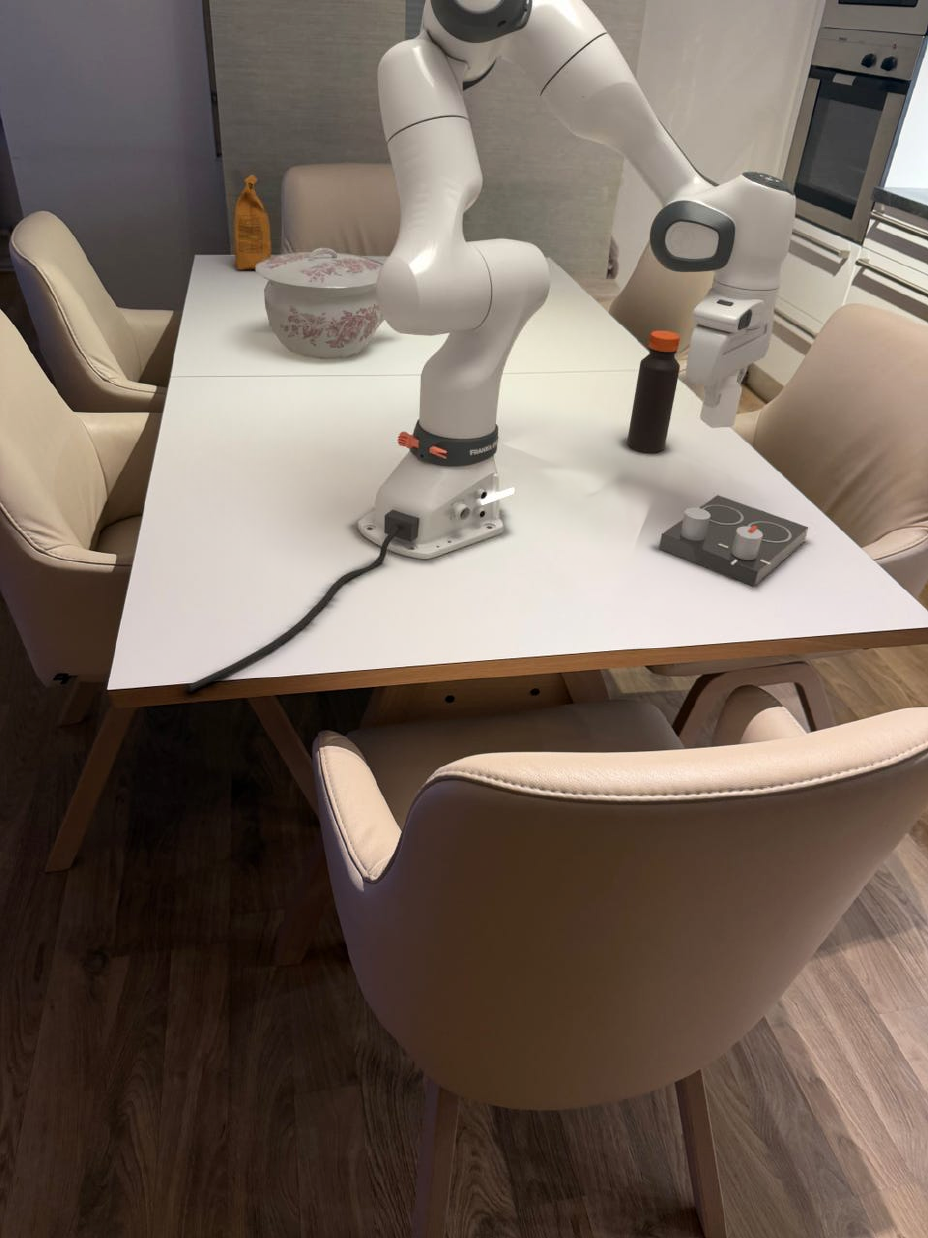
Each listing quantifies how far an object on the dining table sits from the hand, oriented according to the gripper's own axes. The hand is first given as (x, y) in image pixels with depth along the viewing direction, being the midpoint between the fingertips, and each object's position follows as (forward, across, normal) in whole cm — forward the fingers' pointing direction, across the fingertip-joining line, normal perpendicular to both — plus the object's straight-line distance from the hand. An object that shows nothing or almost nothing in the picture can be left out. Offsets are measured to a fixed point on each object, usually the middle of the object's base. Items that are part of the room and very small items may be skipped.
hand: (720, 400), depth 139 cm
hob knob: (+16, +11, +13) cm, 23 cm away
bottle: (+19, -18, -19) cm, 33 cm away
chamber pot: (+19, -13, -94) cm, 97 cm away
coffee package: (+19, -47, -156) cm, 164 cm away
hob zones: (+16, +5, +9) cm, 19 cm away
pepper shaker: (+4, 0, 0) cm, 4 cm away
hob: (+19, +5, +9) cm, 21 cm away
